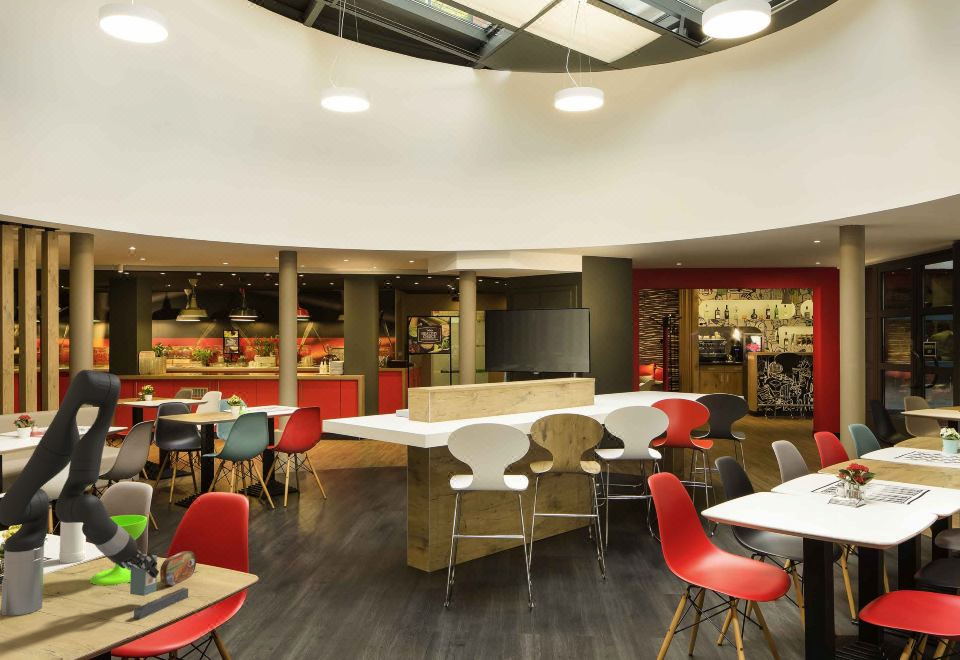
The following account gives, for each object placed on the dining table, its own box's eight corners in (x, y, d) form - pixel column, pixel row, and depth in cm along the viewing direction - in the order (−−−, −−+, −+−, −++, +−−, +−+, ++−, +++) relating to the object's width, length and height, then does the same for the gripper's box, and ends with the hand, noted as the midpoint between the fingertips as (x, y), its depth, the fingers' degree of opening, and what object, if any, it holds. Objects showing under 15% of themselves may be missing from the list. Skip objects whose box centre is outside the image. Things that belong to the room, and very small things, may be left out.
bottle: (83, 555, 241) (85, 470, 242) (87, 560, 235) (89, 473, 236) (57, 559, 236) (59, 473, 237) (60, 565, 230) (63, 476, 231)
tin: (166, 589, 206) (167, 561, 207) (157, 588, 207) (158, 560, 207) (196, 574, 221) (197, 547, 221) (188, 573, 222) (188, 547, 222)
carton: (130, 594, 192) (130, 558, 193) (142, 589, 196) (143, 554, 197) (144, 596, 190) (144, 560, 191) (156, 590, 195) (157, 555, 195)
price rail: (139, 619, 182) (139, 610, 182) (131, 618, 183) (132, 608, 183) (188, 597, 199) (188, 588, 199) (180, 596, 200) (181, 587, 200)
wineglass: (107, 589, 206) (109, 529, 207) (79, 580, 214) (80, 522, 215) (156, 574, 220) (157, 519, 220) (128, 566, 228) (129, 513, 229)
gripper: (143, 532, 185) (175, 564, 196) (103, 528, 189) (136, 560, 200) (127, 557, 180) (161, 588, 190) (86, 552, 184) (121, 583, 195)
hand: (148, 573), depth 195 cm, fingers closed on carton, 5 cm apart
